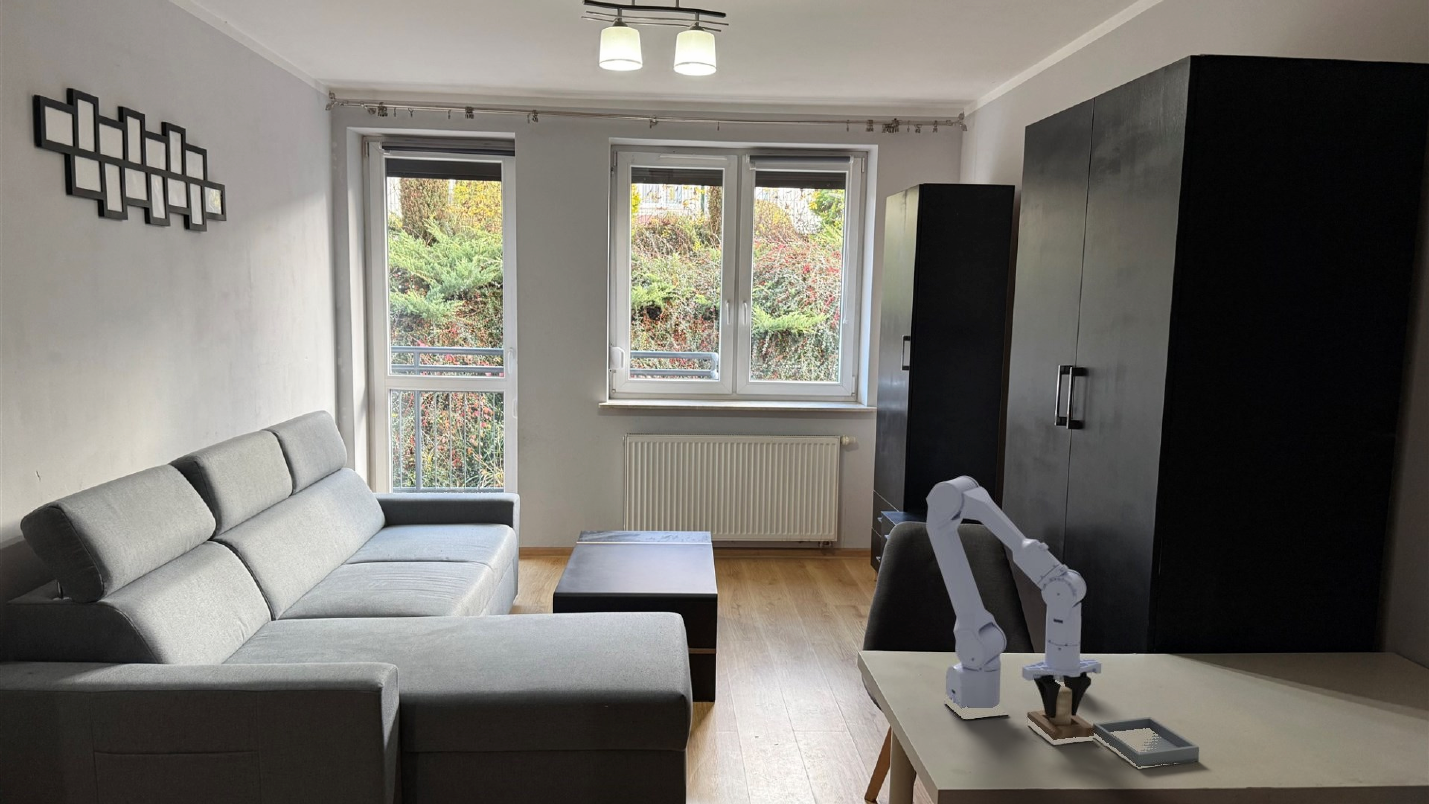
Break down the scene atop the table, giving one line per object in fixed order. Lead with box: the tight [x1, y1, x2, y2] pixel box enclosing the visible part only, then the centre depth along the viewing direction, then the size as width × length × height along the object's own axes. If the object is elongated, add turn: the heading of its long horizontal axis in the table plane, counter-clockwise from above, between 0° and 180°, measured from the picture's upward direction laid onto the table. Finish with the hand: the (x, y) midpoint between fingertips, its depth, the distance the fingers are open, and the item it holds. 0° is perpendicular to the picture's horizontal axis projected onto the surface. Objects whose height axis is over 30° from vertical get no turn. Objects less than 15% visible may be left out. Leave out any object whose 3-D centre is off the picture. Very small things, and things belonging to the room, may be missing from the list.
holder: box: [1026, 709, 1094, 740], centre depth 156 cm, size 8×8×2 cm
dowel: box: [1049, 686, 1072, 727], centre depth 156 cm, size 4×4×8 cm
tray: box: [1092, 716, 1200, 767], centre depth 150 cm, size 12×12×2 cm
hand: (1060, 714), depth 156 cm, fingers closed on dowel, 4 cm apart
